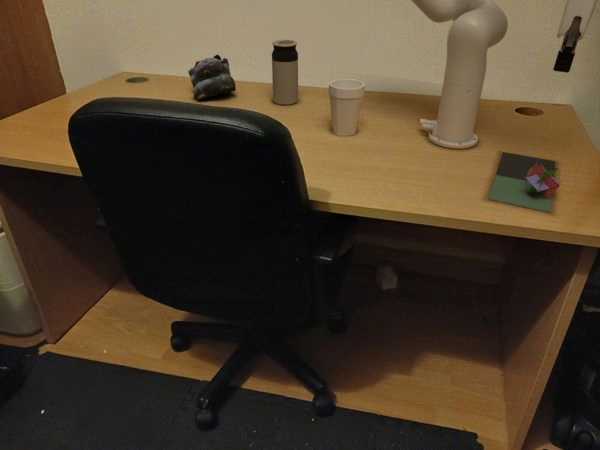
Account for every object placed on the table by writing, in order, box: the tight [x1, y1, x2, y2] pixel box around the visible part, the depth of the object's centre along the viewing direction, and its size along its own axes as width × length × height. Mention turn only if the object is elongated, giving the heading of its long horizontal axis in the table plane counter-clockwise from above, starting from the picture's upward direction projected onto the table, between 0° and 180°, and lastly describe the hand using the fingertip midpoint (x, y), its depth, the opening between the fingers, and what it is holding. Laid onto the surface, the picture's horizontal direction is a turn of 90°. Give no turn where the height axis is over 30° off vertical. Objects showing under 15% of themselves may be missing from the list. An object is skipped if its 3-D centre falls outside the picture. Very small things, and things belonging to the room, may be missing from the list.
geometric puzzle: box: [524, 163, 561, 199], centre depth 100 cm, size 7×7×8 cm
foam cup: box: [328, 78, 366, 136], centre depth 128 cm, size 10×9×13 cm
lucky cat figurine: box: [187, 54, 237, 101], centre depth 155 cm, size 15×12×14 cm
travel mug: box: [271, 39, 299, 106], centre depth 148 cm, size 8×8×18 cm
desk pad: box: [487, 151, 556, 214], centre depth 108 cm, size 12×26×1 cm, turn 154°
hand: (561, 70), depth 104 cm, fingers closed
